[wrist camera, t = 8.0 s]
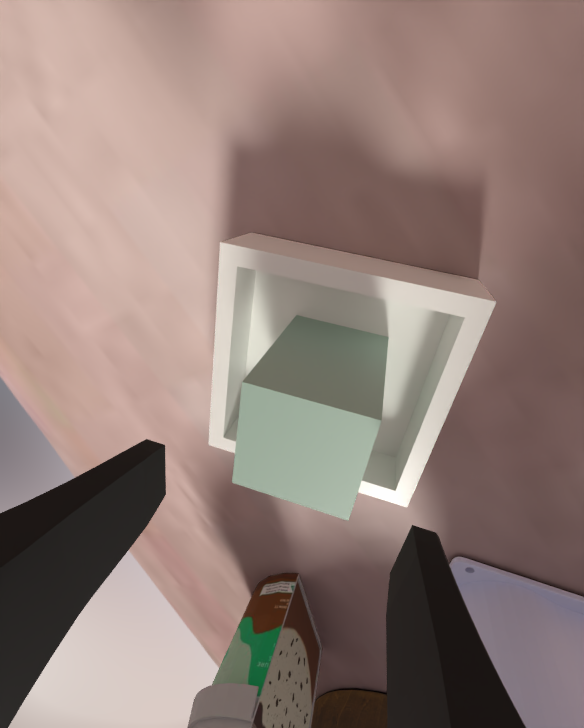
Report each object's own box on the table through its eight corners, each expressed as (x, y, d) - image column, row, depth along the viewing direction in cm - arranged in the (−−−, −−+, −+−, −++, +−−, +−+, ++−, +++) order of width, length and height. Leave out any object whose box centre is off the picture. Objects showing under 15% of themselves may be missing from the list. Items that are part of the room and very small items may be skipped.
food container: (222, 553, 29) (146, 708, 21) (294, 559, 27) (244, 733, 19) (261, 647, 34) (213, 806, 25) (325, 658, 32) (297, 835, 23)
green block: (388, 337, 17) (381, 420, 11) (365, 414, 19) (348, 520, 13) (296, 314, 18) (241, 381, 12) (283, 392, 20) (232, 482, 14)
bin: (478, 279, 16) (496, 301, 13) (406, 460, 21) (407, 507, 18) (251, 232, 18) (220, 242, 15) (234, 410, 23) (208, 444, 20)
